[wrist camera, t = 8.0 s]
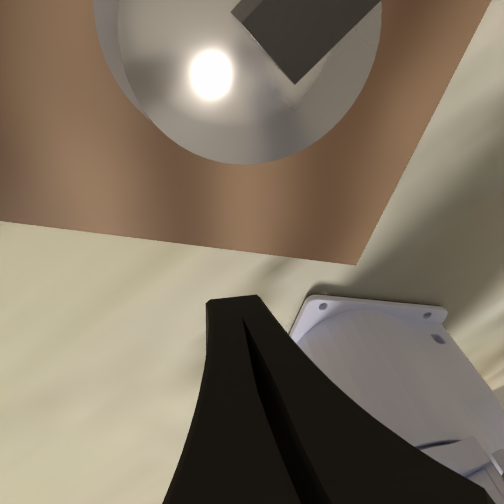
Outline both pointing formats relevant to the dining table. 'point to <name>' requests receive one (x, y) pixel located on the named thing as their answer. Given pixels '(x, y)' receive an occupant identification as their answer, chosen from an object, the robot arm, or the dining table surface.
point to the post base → (194, 166)
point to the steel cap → (247, 70)
